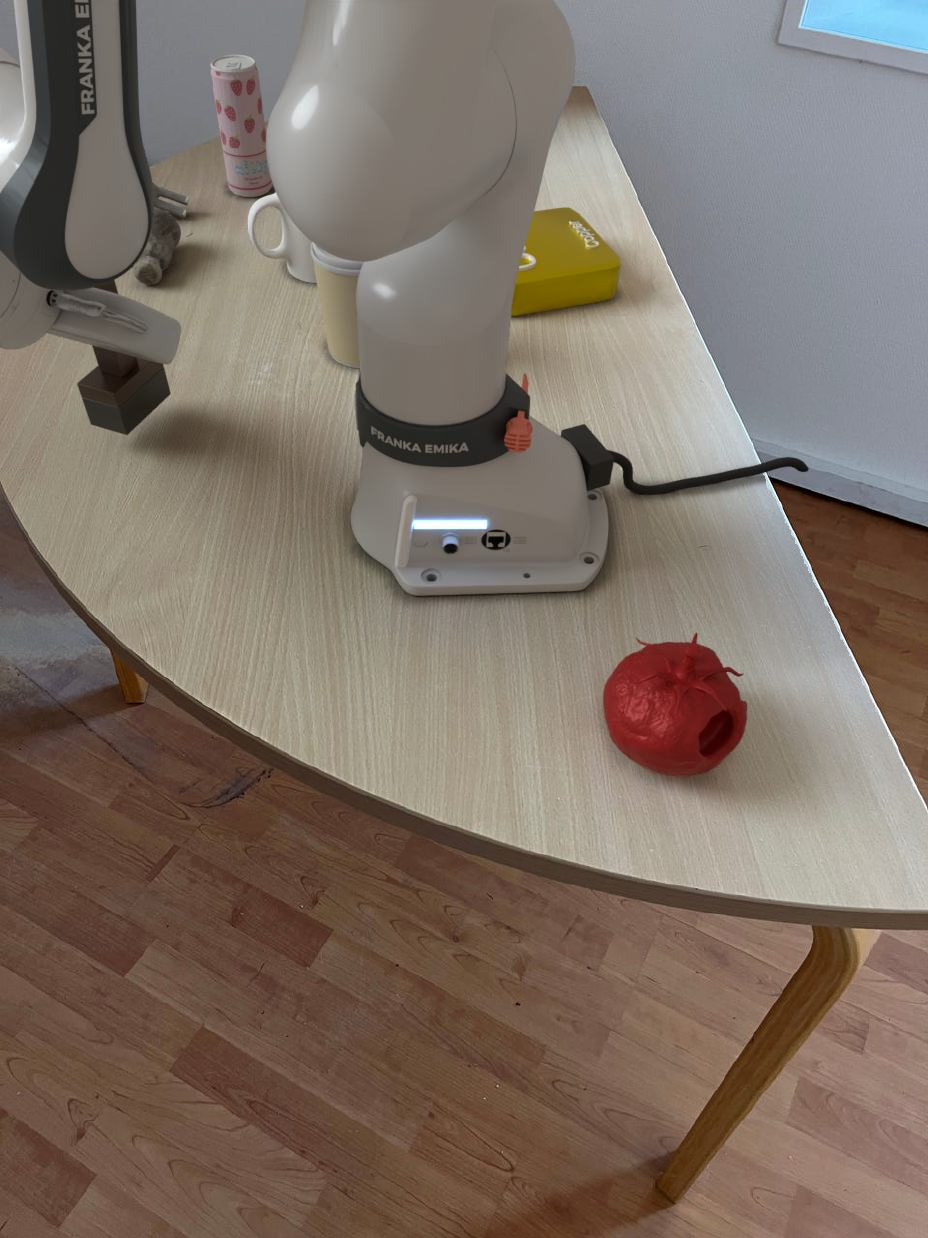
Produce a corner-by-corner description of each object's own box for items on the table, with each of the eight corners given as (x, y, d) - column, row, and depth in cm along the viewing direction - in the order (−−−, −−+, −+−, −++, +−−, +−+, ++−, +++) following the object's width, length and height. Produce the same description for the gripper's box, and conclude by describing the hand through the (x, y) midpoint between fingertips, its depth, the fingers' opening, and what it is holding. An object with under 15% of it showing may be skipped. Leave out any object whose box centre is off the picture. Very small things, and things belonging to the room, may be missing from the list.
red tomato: (579, 767, 65) (597, 688, 58) (615, 663, 71) (636, 581, 64) (719, 814, 63) (755, 738, 56) (743, 703, 69) (779, 622, 62)
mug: (268, 296, 105) (255, 205, 97) (246, 263, 109) (231, 173, 101) (366, 274, 108) (361, 184, 100) (341, 243, 113) (334, 155, 105)
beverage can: (238, 201, 119) (218, 73, 108) (222, 183, 122) (201, 57, 111) (279, 192, 121) (264, 66, 110) (263, 175, 124) (246, 50, 113)
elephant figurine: (176, 239, 113) (99, 211, 110) (177, 254, 118) (104, 228, 116) (198, 160, 113) (122, 130, 110) (198, 180, 119) (125, 152, 116)
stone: (162, 298, 105) (201, 238, 104) (119, 268, 102) (158, 205, 101) (147, 280, 113) (182, 223, 111) (106, 251, 109) (142, 193, 108)
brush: (135, 383, 89) (97, 249, 79) (171, 393, 88) (136, 259, 78) (90, 424, 85) (43, 288, 75) (127, 435, 84) (84, 298, 74)
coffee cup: (427, 348, 99) (426, 239, 90) (362, 384, 94) (355, 274, 85) (367, 314, 103) (361, 207, 94) (302, 347, 98) (289, 238, 89)
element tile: (622, 299, 106) (629, 259, 103) (500, 320, 103) (503, 280, 99) (568, 238, 116) (573, 200, 112) (455, 255, 112) (456, 216, 108)
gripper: (128, 269, 65) (226, 325, 79) (-99, 214, 70) (29, 276, 83) (106, 357, 66) (207, 398, 79) (-118, 297, 71) (13, 344, 84)
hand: (114, 335), depth 81 cm, fingers closed on brush, 2 cm apart
